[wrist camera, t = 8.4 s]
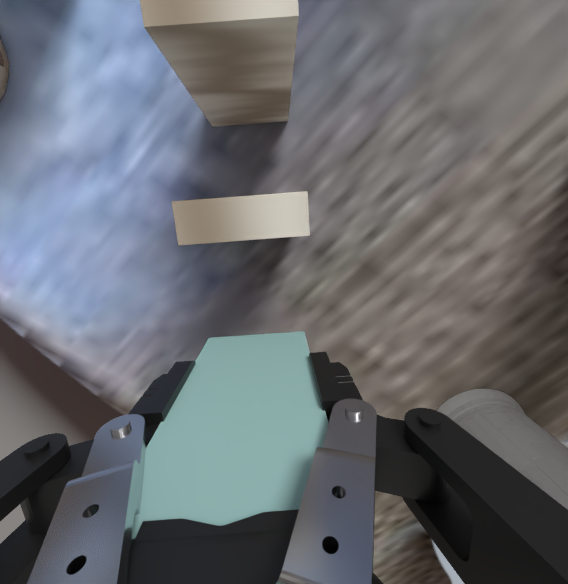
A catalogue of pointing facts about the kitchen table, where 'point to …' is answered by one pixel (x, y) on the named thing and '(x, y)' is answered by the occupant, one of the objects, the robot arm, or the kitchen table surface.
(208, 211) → the domino
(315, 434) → the domino
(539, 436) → the grey black pitcher
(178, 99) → the kitchen table surface
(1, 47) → the figurine
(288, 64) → the domino
